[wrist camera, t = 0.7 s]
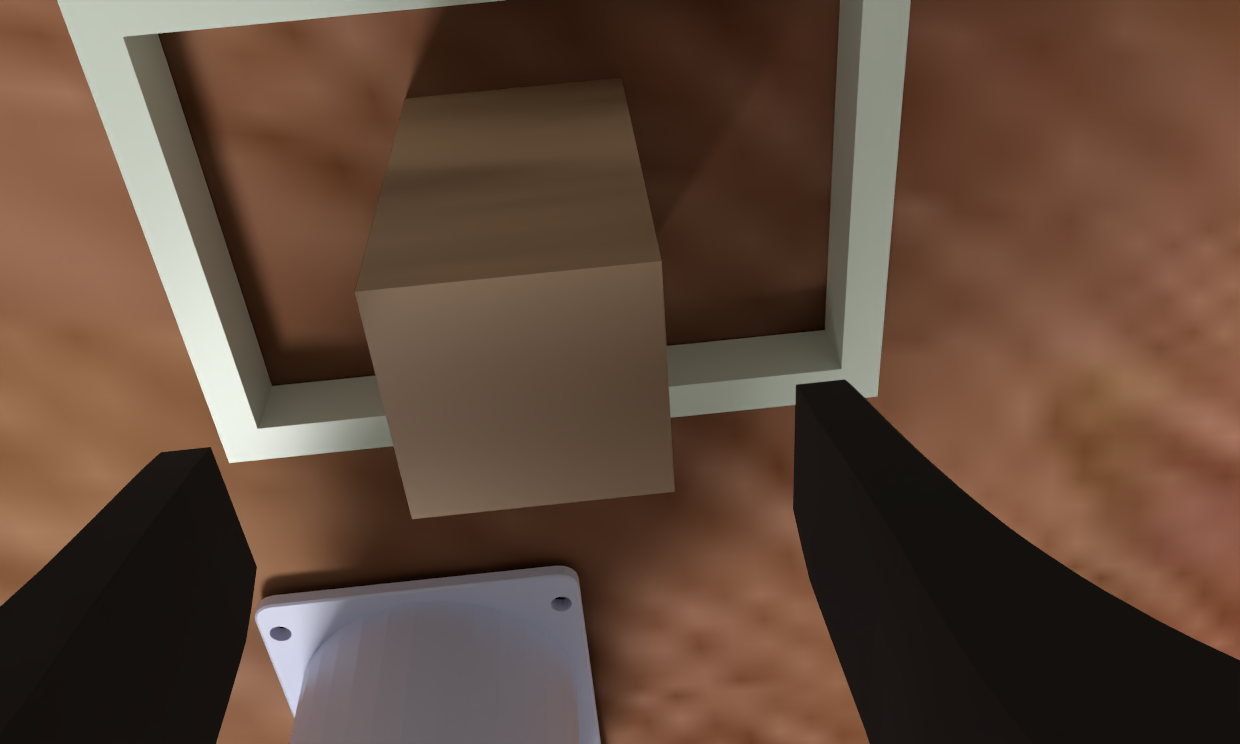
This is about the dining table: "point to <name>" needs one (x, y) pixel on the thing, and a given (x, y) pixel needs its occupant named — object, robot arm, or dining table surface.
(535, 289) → the block
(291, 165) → the dining table surface
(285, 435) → the pale green rectangular frame
